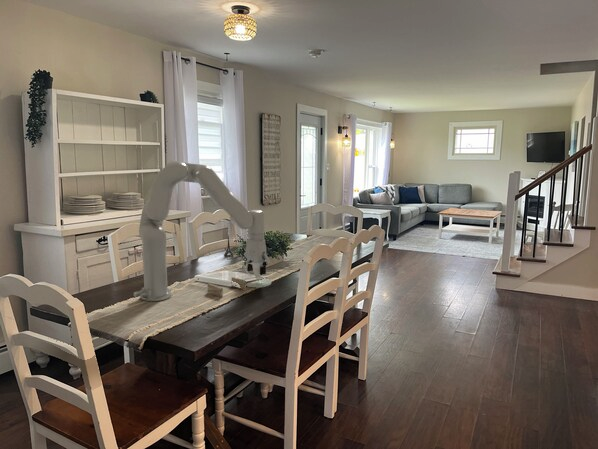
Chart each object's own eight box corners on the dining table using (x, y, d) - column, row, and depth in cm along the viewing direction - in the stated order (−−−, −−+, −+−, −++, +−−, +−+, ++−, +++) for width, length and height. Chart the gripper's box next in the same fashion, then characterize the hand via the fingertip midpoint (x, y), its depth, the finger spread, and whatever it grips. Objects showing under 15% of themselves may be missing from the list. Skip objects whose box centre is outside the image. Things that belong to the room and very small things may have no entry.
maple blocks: (220, 297, 196) (220, 288, 195) (207, 292, 202) (207, 283, 201) (246, 289, 207) (246, 281, 206) (233, 285, 213) (233, 276, 212)
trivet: (255, 289, 207) (255, 288, 206) (235, 283, 216) (235, 282, 216) (277, 283, 217) (277, 281, 217) (257, 277, 226) (257, 275, 226)
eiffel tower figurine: (228, 260, 258) (228, 237, 256) (214, 258, 263) (213, 236, 260) (243, 255, 271) (243, 233, 269) (229, 253, 276) (229, 231, 274)
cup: (264, 279, 211) (264, 263, 210) (243, 278, 213) (243, 262, 212) (267, 276, 218) (267, 259, 217) (247, 274, 220) (247, 258, 219)
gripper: (237, 235, 215) (238, 270, 218) (263, 240, 204) (263, 278, 207) (249, 232, 221) (250, 267, 224) (275, 238, 209) (275, 274, 212)
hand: (256, 272), depth 215 cm, fingers closed on cup, 8 cm apart
